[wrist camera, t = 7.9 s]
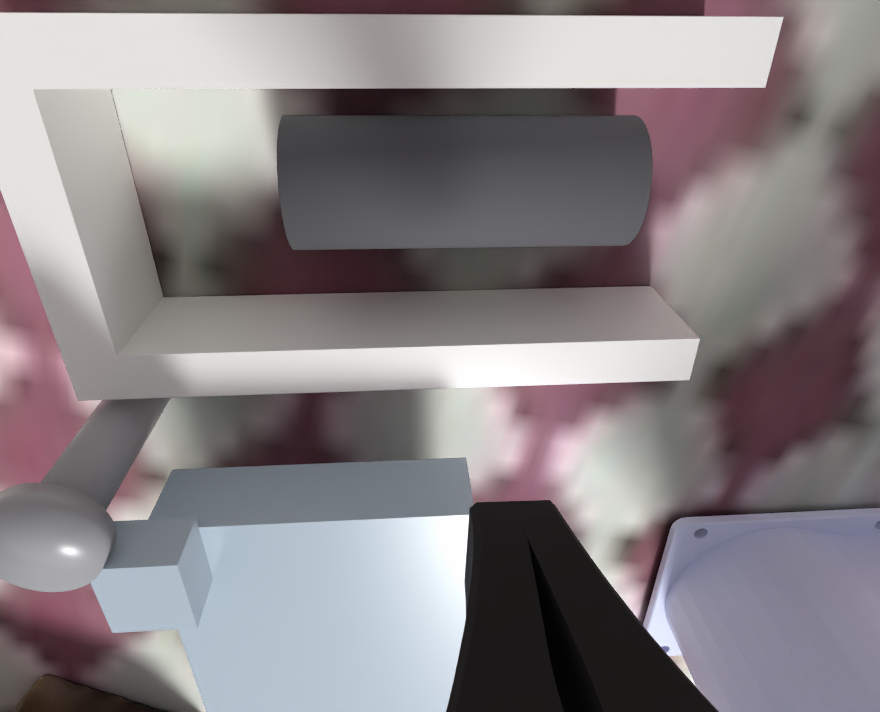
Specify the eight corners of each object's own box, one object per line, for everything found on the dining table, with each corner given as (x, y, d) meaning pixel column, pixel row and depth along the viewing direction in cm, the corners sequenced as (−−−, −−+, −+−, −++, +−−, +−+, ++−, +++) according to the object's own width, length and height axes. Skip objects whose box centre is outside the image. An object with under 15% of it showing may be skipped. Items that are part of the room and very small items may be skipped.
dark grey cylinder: (604, 136, 16) (653, 96, 13) (604, 251, 16) (651, 237, 13) (299, 137, 15) (274, 94, 12) (303, 255, 15) (280, 242, 12)
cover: (456, 733, 22) (465, 841, 19) (182, 752, 21) (151, 866, 18) (468, 389, 14) (487, 484, 11) (40, 404, 14) (-53, 508, 11)
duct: (705, 16, 14) (904, 18, 8) (634, 370, 19) (730, 515, 13) (29, 12, 13) (-232, 12, 7) (141, 386, 18) (32, 549, 12)
